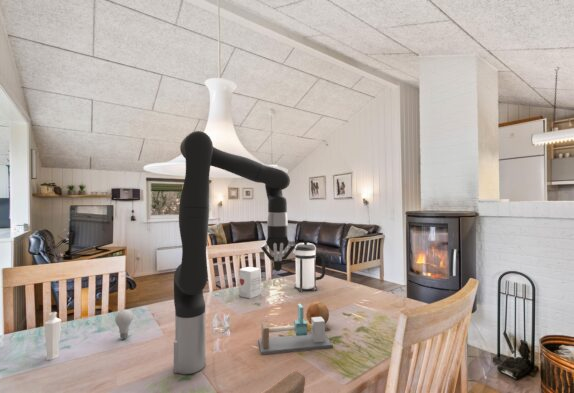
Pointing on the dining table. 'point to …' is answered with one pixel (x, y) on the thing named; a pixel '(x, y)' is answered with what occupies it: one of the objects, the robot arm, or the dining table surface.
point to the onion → (317, 311)
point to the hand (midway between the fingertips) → (277, 270)
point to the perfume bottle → (52, 336)
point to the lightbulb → (124, 322)
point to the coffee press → (307, 265)
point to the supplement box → (249, 282)
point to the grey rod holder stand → (294, 338)
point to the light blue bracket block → (300, 323)
